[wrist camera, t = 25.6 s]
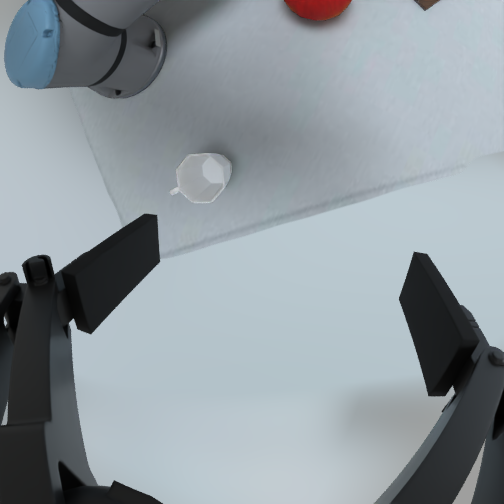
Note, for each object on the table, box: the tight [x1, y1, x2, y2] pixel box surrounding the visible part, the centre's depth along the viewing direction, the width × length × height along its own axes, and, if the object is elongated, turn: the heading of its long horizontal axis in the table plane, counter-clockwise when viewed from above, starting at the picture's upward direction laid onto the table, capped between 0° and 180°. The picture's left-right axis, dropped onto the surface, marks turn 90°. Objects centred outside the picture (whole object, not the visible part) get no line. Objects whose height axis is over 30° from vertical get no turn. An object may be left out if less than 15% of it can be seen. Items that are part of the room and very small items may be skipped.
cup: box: [169, 153, 232, 203], centre depth 42 cm, size 7×10×8 cm
